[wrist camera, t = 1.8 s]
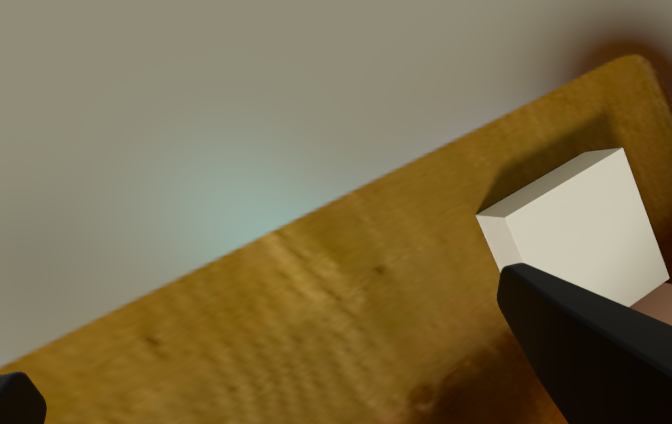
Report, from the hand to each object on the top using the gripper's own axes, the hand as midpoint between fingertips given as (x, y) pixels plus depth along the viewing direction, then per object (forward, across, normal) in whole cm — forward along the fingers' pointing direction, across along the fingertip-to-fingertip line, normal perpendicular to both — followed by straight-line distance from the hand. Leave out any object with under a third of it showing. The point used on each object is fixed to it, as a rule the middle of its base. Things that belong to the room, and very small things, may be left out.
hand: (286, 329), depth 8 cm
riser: (+14, -20, +12) cm, 27 cm away
